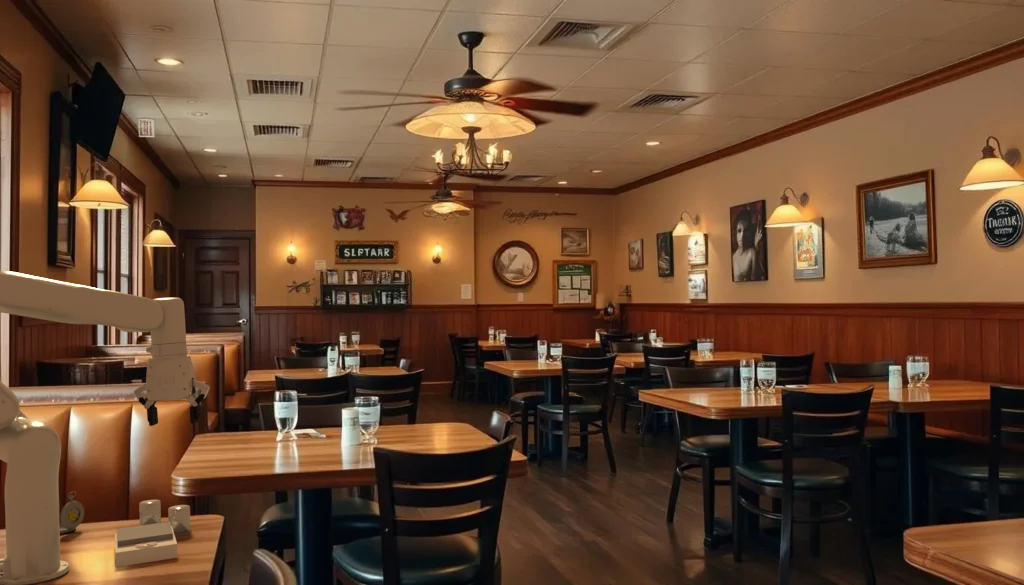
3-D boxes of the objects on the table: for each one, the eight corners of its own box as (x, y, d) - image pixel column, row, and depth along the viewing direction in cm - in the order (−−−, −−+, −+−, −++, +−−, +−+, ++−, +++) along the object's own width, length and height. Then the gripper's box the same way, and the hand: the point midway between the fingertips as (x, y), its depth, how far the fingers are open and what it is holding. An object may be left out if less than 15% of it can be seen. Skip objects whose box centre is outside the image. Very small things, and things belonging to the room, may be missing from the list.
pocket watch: (49, 529, 201) (48, 489, 201) (86, 525, 203) (85, 485, 203) (40, 538, 193) (39, 496, 193) (80, 534, 195) (79, 493, 195)
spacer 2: (169, 536, 192) (168, 511, 192) (168, 531, 196) (167, 506, 196) (191, 533, 194) (190, 508, 194) (189, 528, 198) (188, 503, 198)
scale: (115, 567, 170) (115, 547, 170) (115, 547, 184) (114, 528, 184) (177, 557, 175) (176, 538, 175) (172, 538, 190) (171, 520, 190)
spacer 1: (140, 530, 198) (139, 505, 198) (139, 525, 202) (138, 501, 202) (161, 527, 200) (160, 502, 200) (160, 522, 204) (159, 498, 204)
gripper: (124, 354, 185) (129, 428, 185) (200, 350, 184) (204, 424, 185) (140, 351, 192) (145, 422, 193) (212, 347, 192) (217, 419, 192)
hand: (174, 423), depth 189 cm, fingers open, 9 cm apart
